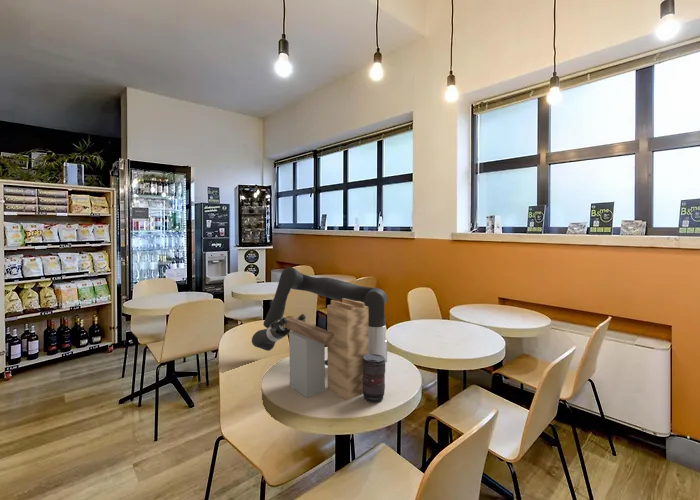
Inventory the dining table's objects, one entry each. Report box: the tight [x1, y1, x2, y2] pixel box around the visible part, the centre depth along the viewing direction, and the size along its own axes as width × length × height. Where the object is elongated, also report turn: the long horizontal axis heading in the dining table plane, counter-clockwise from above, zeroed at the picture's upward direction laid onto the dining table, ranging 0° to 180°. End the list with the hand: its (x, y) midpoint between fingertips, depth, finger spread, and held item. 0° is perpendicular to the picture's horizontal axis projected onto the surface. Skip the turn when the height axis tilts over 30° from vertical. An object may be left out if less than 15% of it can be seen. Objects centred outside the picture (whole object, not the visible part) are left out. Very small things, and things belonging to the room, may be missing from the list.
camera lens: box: [362, 354, 386, 404], centre depth 122 cm, size 8×8×15 cm
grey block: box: [288, 331, 326, 398], centre depth 130 cm, size 8×12×21 cm, turn 40°
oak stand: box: [326, 298, 369, 401], centre depth 128 cm, size 10×12×34 cm
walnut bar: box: [282, 314, 334, 346], centre depth 129 cm, size 4×30×4 cm, turn 40°
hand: (294, 318), depth 135 cm, fingers open, 8 cm apart
